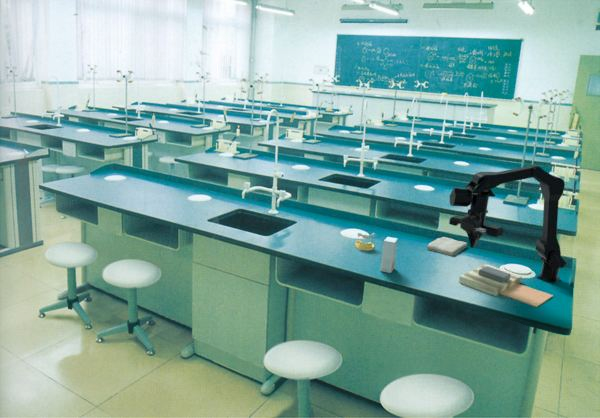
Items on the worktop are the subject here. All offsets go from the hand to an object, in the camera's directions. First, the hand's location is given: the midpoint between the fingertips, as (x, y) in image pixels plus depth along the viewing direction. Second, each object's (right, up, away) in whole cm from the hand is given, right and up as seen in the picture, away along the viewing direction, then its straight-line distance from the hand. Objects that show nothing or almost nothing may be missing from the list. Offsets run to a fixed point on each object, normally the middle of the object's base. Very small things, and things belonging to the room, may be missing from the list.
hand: (472, 247), depth 185 cm
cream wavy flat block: (+5, -12, -3) cm, 14 cm away
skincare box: (-31, -9, +2) cm, 32 cm away
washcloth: (0, -3, +32) cm, 32 cm away
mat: (+15, -15, -13) cm, 25 cm away
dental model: (-37, -2, +25) cm, 45 cm away
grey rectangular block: (+6, -10, -5) cm, 13 cm away
